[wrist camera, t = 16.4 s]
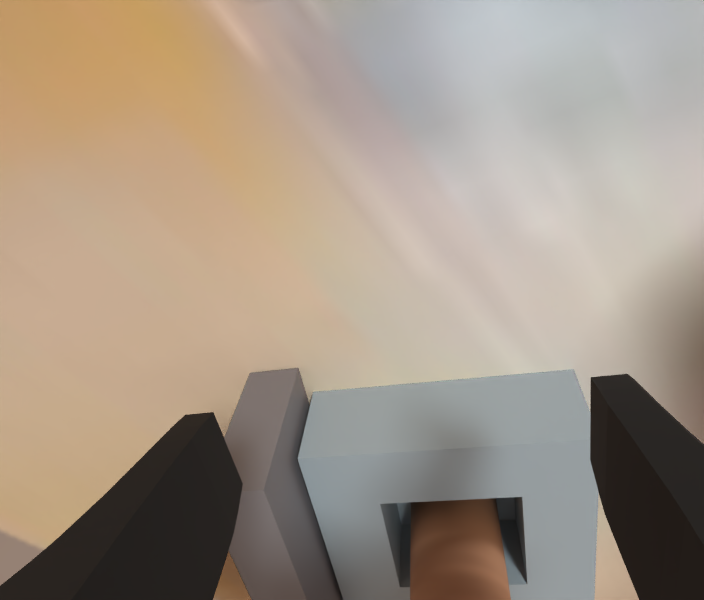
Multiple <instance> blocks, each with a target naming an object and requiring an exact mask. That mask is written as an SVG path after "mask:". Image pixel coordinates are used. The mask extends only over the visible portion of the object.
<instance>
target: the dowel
mask: <svg viewBox="0 0 704 600" xmlns="http://www.w3.org/2000/svg"><path fill="white" fill-rule="evenodd" d="M410 600H511V596H510V590H509V583H508V576H507V569H506V563H505V556H504V549H503V543H502V536H501V529H500V522H499V516H498V509H497V502H496V498H489V499H468V500H448V501H428V502H411V545H410Z"/></svg>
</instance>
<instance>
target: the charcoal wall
mask: <svg viewBox="0 0 704 600" xmlns="http://www.w3.org/2000/svg"><path fill="white" fill-rule="evenodd" d="M309 408H310V405H309V402H308V398H307V395H306V392H305V389H304V385H303V382H302V379H301V375H300V372H299V369H298V368H294V369H284V370H275V371H265V372H256V373H250V374H249V377H248V379H247V382H246V384H245V387H244V389H243V392H242V394H241V397H240V399H239V402H238V404H237V407H236V409H235V412H234V414H233V417H232V419H231V422H230V424H229V427H228V429H227V432H226V435H225V437H224V439H225V442H226V444H227V447H228V449H229V451H230V454H231V456H232V459H233V461H234V463H235V466H236V468H237V471H238V473H239V475H240V478H241V480H242V483H243V486H242V492H241V498H240V504H239V510H238V515H237V520H236V525H235V530H234V534H233V537H232V541H231V544H230V547H229V550H228V551H229V553H230V555H231V557H232V559H233V561H234V563H235V565H236V567H237V570H238V572H239V574H240V576H241V578H242V580H243V582H244V584H245V587H246V589H247V591H248V593H249V595H250V597H251V599H252V600H343V597H342V594H341V591H340V588H339V585H338V582H337V579H336V576H335V573H334V570H333V566H332V563H331V560H330V557H329V554H328V551H327V548H326V545H325V542H324V539H323V536H322V533H321V529H320V526H319V523H318V520H317V517H316V514H315V511H314V508H313V505H312V502H311V499H310V496H309V493H308V489H307V486H306V483H305V480H304V477H303V474H302V471H301V468H300V465H299V462H298V455H299V451H300V446H301V442H302V438H303V434H304V429H305V425H306V421H307V416H308V412H309Z"/></svg>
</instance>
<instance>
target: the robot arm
mask: <svg viewBox="0 0 704 600" xmlns="http://www.w3.org/2000/svg"><path fill="white" fill-rule="evenodd" d="M590 461H591V465H592V469H593V473H594V476H595V480H596V484H597V488H598V491H599V495H600V498H601V502H602V505H603V509H604V512H605V515H606V518H607V520H608V523H609V525H610V528H611V531H612V533H613V536H614V538H615V541H616V543H617V546H618V548H619V551H620V553H621V556H622V558H623V561H624V563H625V565H626V568H627V570H628V573H629V575H630V578H631V580H632V583H633V585H634V588H635V590H636V593H637V595H638V598H639V600H704V444H703V443H702V442H700V441H699V440H698V439H697V438H696V437H695V436H694V435H692V434H691V433H690V432H689V431H688V430H687V429H686V428H685V427H684V426H682V425H681V424H680V423H679V422H678V421H677V420H676V419H675V418H674V417H673V416H672V415H671V414H670V413H669V412H667V411H666V410H665V409H664V408H663V407H662V406H661V405H660V404H659V403H658V402H657V401H656V400H655V399H654V398H653V397H652V396H651V395H650V394H649V393H648V392H647V391H646V390H645V389H644V388H643V387H642V386H640V385H639V384H638V383H637V382H636V381H635V380H634V379H633V378H632V377H631V376H629V375H628V374H622V375H611V376H600V377H591V422H590ZM242 486H243V483H242V480H241V478H240V475H239V473H238V471H237V468H236V466H235V463H234V461H233V459H232V456H231V454H230V451H229V449H228V447H227V444H226V442H225V439H224V437H223V435H222V432H221V430H220V427H219V425H218V423H217V420H216V418H215V415H214V413H213V412H212V413H201V414H190V415H185V416H184V417H183V418H181V419H180V420H179V421H178V422H177V423H176V424H175V425H174V426H173V427H172V428H171V429H170V430H169V431H168V432H167V433H166V434H165V435H164V436H163V437H162V438H161V439H160V440H159V441H158V442H157V443H156V444H155V445H154V446H153V447H152V448H151V449H150V450H149V451H148V452H147V453H146V454H145V455H144V456H143V457H142V458H141V459H140V460H139V461H138V462H137V463H136V464H135V465H134V466H133V467H132V468H131V469H130V470H129V471H128V472H127V473H126V474H125V475H124V476H123V477H122V478H121V479H120V480H119V481H118V482H117V483H116V484H115V485H114V486H113V487H112V488H111V489H110V490H109V491H108V492H107V493H106V494H105V495H104V496H103V497H102V498H101V499H100V500H99V501H97V502H96V503H95V504H94V505H93V506H92V507H91V508H90V509H89V510H88V511H87V512H86V513H85V514H83V515H82V516H81V517H80V518H79V519H78V520H77V521H76V522H75V523H74V524H73V525H72V526H71V527H69V528H68V529H67V530H66V531H65V532H64V533H63V534H62V535H61V536H60V537H59V538H57V539H56V540H55V541H54V542H53V543H52V544H51V545H49V546H48V547H47V548H46V549H45V550H44V551H42V552H41V553H40V554H39V555H38V556H37V557H35V558H34V559H33V560H32V561H31V562H30V563H28V564H27V565H26V566H24V567H23V568H22V569H21V570H20V571H18V572H17V573H16V574H14V575H13V576H12V577H11V578H10V579H8V580H7V581H6V582H5V583H3V584H2V585H1V586H0V600H213V597H214V594H215V591H216V588H217V585H218V582H219V579H220V576H221V573H222V569H223V566H224V563H225V560H226V557H227V554H228V550H229V547H230V544H231V541H232V537H233V534H234V530H235V525H236V520H237V515H238V510H239V504H240V498H241V492H242Z"/></svg>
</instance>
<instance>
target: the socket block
mask: <svg viewBox="0 0 704 600" xmlns="http://www.w3.org/2000/svg"><path fill="white" fill-rule="evenodd" d="M590 422H591V413H590V411H589V408H588V405H587V403H586V400H585V398H584V395H583V392H582V390H581V387H580V384H579V382H578V379H577V376H576V374H575V371H574V370H562V371H551V372H539V373H527V374H516V375H504V376H493V377H481V378H470V379H458V380H447V381H435V382H424V383H412V384H401V385H389V386H378V387H366V388H355V389H343V390H331V391H320V392H313V395H312V399H311V404H310V408H309V412H308V416H307V421H306V425H305V429H304V434H303V438H302V442H301V446H300V451H299V455H298V462H299V465H300V468H301V471H302V474H303V477H304V480H305V483H306V486H307V489H308V493H309V496H310V499H311V502H312V505H313V508H314V511H315V514H316V517H317V520H318V523H319V526H320V529H321V533H322V536H323V539H324V542H325V545H326V548H327V551H328V554H329V557H330V560H331V563H332V566H333V570H334V573H335V576H336V579H337V582H338V585H339V588H340V591H341V594H342V597H343V600H410V545H411V502H428V501H448V500H468V499H489V498H496V502H497V509H498V516H499V522H500V529H501V536H502V543H503V549H504V556H505V563H506V569H507V576H508V583H509V590H510V596H511V600H594V595H595V568H596V541H597V514H598V488H597V484H596V480H595V476H594V473H593V469H592V465H591V461H590Z"/></svg>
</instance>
